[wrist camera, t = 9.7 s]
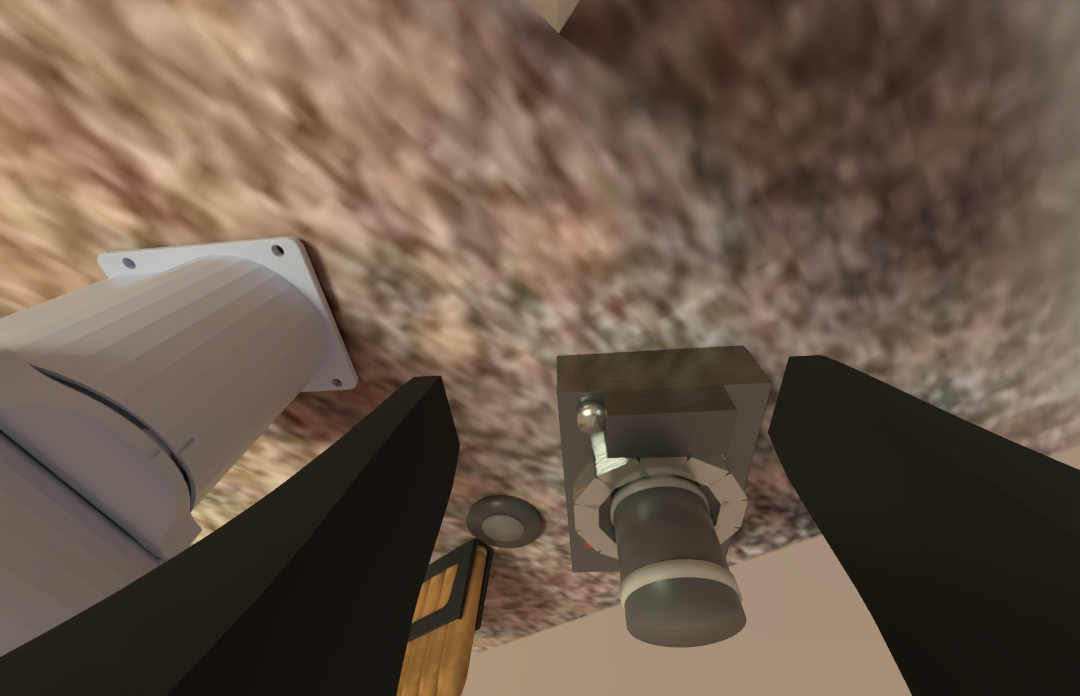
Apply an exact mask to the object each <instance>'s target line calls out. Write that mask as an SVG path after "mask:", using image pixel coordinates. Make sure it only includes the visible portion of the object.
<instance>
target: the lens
mask: <svg viewBox="0 0 1080 696" xmlns="http://www.w3.org/2000/svg"><path fill="white" fill-rule="evenodd" d="M610 498H611V502H610V515H611V521H612V523H613V525H614V530H615V537H616V545H617V553H618V561H619V569H620V576H621V585H620V596H621V604H622V609H623V611H624V613H625V615H626V623H627V629H628V631H629V632H630V634H631V635H632V636H634V637H635V638H637V639H639V640H641V641H643V642H646V643H649V644H653V645H658V646H666V647H695V646H702V645H708V644H713V643H716V642H719V641H723V640H725V639H728V638H730V637H732V636H734V635H735V634H737V633H738V632H740V631H741V630H742V629H743V627H744V626H745V624H746V616H745V614H744V610H743V607H742V604H741V601H742V597H741V594H740V591H739V588H738V585H737V582H736V580H735V577H734V575H733V574H732V573H731V572H730V571H729V567H728V565H727V562H726V559H725V556H724V553H723V550H722V548H721V545H720V542H719V539H718V536H717V533H716V530H715V528H714V525H713V522H712V519H711V516H710V513H709V512H710V508H709V504H708V501H707V498H706V495H705V493H704V491H703V490H702V489H701V488H700V485H699V483H698V482H695V481H693V480H690V479H687V478H685V477H682V476H650V477H643V478H640V479H638V480H635V481H633V482H630V483H628V484H625V485H623V486H620V487H618V488H616V489H614V490H613V491H612V493H611V494H610Z"/></svg>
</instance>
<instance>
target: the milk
mask: <svg viewBox="0 0 1080 696" xmlns="http://www.w3.org/2000/svg"><path fill="white" fill-rule="evenodd" d="M526 1H527V2H528V3H529V4H530V5H531V6H532V7H533V8H534V9H535V10H536V11H537V12H538V13H539V14H540V15H541V16H542V17H543V18H544V19H545V20H546V21H547V22H548V23H549V24H550V25H551V26H552V27H553V28H554V29H555V30H556V31H557V32H558V33H560V31H561V29H562V28H563V26H564V25H565V23H566V21H567V20H568V18H569V17H570V15H571V14H572V12H573V10H574V9H575V7H576V6H577V4H578V2H579V1H580V0H526Z"/></svg>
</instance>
